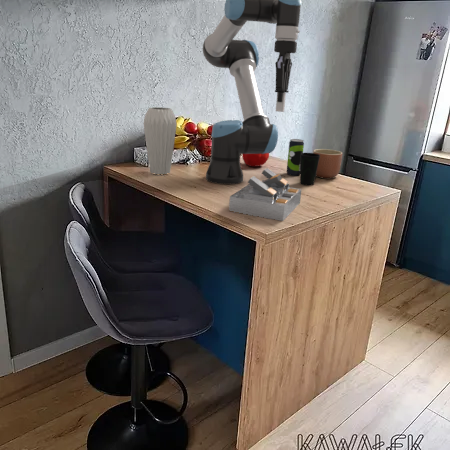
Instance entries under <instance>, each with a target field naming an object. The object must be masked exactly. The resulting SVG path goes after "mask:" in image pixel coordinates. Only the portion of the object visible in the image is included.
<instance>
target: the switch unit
mask: <svg viewBox="0 0 450 450" xmlns="http://www.w3.org/2000/svg"><path fill="white" fill-rule="evenodd" d="M262 181H264V179H262V180H261V182H262ZM268 187H271V188H272V189H274V190H275V191H277V192H276V194H275V196H274V197H269V196H265V195H264V194H263V193H261V192H260V191H259V190H257V189H256V188H253V186H252V185H250V184H249V183H247V185H245V186H244V187H243V188H240V189H239V190H237V191H236V192H235V193H233V194H231V195H230V196H229V203H228V211H229V210H230V211H234V212H233V213H235V212H239V213H238V214H240V213H243V214H242V215H246V214H248V215H247V216H252V215H253V216H252V217H257V216H259V218H263V217H264V218H265V219H270V220H274V219H275V220H276V221H281V222H284V220H286V218H288V216H289V215H290V214H292V212H293V211H294V210H295V209H296V208H298V207H297V206H299V205H300V203H301V198H302V188H297V187H290V183H288V184H287V185H286V187H282V186H278V185H277V184H275V183H273V184H271V185H268Z"/></svg>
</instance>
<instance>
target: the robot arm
mask: <svg viewBox="0 0 450 450" xmlns="http://www.w3.org/2000/svg"><path fill="white" fill-rule="evenodd" d="M301 8H302V0H225V3H224V8H223V9H224V10H223V11H224V16H223V17H222V19H221V20H220V21H219V23H218V25H217V26H216V28H214V30H213V32H212V33H211V34H209V35H207V36H206V37H205V39H204V41H203V44H202V54H203V57H204V58H205V60H206V61H207V62H208V63H209V64H210V65H212V66H214V67H216V68H220V69H221V68H222V69H228V70H229V73H230V75H231V76H232V77H234V81H235V85H236V90H237V94H238V99H239V103H240V107H241V113H242V119H243V120H240V119H239V120H238V119H233V120H232V119H228V120H221V121H217V122H215V123H214V124H213V125H212V130H211V151H210V162H209V165H208V168H207V170H206V174H205V180H206V181H207V182H209V183H214V184H219V185H236V184H240V183H242V182H244V173H243V168H242V165H241V155H242V154H264V153H269V154H271V153H273V152H274V150H275V149H276V147H277V144H278V141H279V140H278V138H279V130H278V127H277V125H276V124H275V123H271V121H270V118H269V117H268V116H267V115H265V112H264V108H263V104H262V100H261V96H260V91H259V88H258V83H257V79H256V74H255V70H256V69H257V67H258V64H259V60H260V57H259V55H260V54H259V53H260V52H259V48H258V46H257V44H256V43H255V42H253V41H252V40H247V39H242V40H241V39H235V37H236V35H237V34H238V33H239V32H240V30H242V28H243V27H244V26H245V25H246V23H247V22H259V23H267V24H275V25H276V26H275V33H274V34H275V35H274V38H275V39H276V40H275V41H274V53H278V58H277V60H276V61H275V90H274V93H276V100H275V101H276V102H275V112H279V113H284V112H285V105H286V104H285V103H286V94H287V93H289V90H288V89H289V84H290V77H291V71H292V66H293V63H292V58H291V54H296V53H297V45H298V42H297V41H296V40H298V37H299V36H298V35H299V34H300V32H301V31H300V30H299V25H300V16H301V15H300V14H301Z"/></svg>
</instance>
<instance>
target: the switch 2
mask: <svg viewBox="0 0 450 450" xmlns="http://www.w3.org/2000/svg"><path fill="white" fill-rule="evenodd" d="M247 184H250V185H252V186H253V187H254V188H256V189H257V190H259V191H260V192H261V193H263V194H264V195H265V196H269V197H274V196H275V194H276V192H277V191H275V190H274V189H272V188H271V187H268V186H267V185H265V184H264V183H263V182H262V180H260V179H259V178H257V177H256V176H254V175H253V176H252V177H250V178H249V179H248V181H247Z"/></svg>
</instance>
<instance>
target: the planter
mask: <svg viewBox="0 0 450 450" xmlns="http://www.w3.org/2000/svg"><path fill="white" fill-rule="evenodd" d="M312 153H315V154H319V155H320V158H319V163H318V167H317V172H316V178H317V177H318V178H321V179H333V178H336V177H337V176H338V175H339V173H340V172H341V171H340V170H341V165H342V160H343V152H342V151H339V150H335V149H328V148H319V149H318V148H317V149H314V150H313V151H312Z"/></svg>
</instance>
